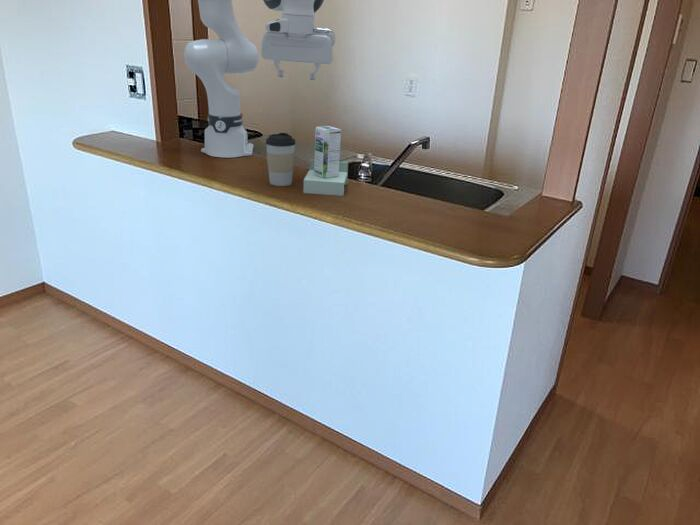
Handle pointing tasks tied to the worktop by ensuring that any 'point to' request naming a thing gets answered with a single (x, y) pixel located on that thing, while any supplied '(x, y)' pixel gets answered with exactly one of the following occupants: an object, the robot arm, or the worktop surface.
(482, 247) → the worktop surface
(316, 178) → the shelf
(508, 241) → the worktop surface
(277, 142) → the coffee cup
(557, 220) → the worktop surface
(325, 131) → the syrup box
